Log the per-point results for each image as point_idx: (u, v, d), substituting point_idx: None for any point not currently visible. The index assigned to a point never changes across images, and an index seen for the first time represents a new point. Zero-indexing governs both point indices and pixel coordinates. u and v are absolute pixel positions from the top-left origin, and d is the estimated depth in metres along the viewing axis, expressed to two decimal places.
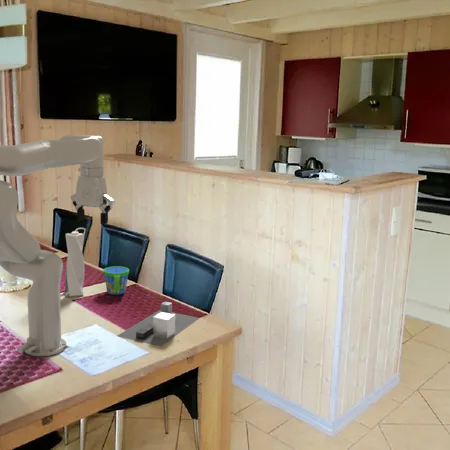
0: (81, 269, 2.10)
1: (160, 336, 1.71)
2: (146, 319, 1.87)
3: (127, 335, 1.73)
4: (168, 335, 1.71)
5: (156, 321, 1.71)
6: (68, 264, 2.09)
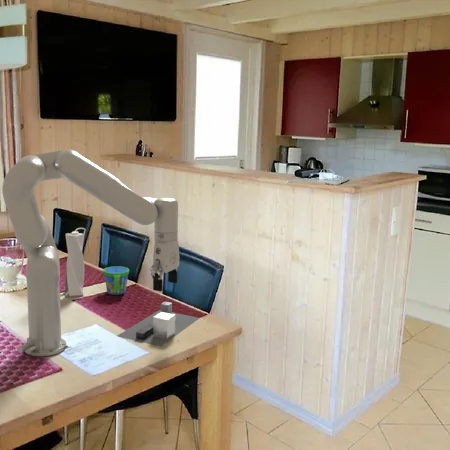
0: (81, 269, 2.10)
1: (160, 336, 1.71)
2: (146, 319, 1.87)
3: (127, 335, 1.73)
4: (168, 335, 1.71)
5: (156, 321, 1.71)
6: (68, 264, 2.09)
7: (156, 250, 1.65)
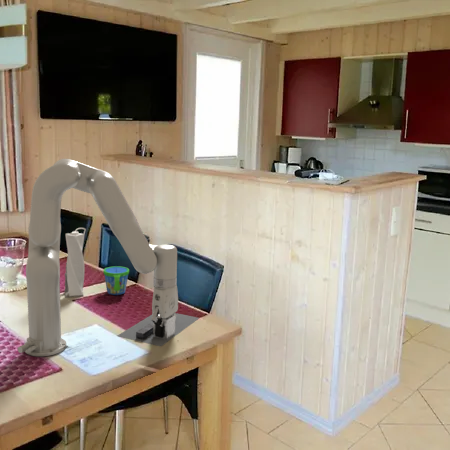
0: (81, 269, 2.10)
1: None
2: (146, 319, 1.87)
3: (127, 335, 1.73)
4: (168, 335, 1.71)
5: None
6: (68, 264, 2.09)
7: (155, 296, 1.68)
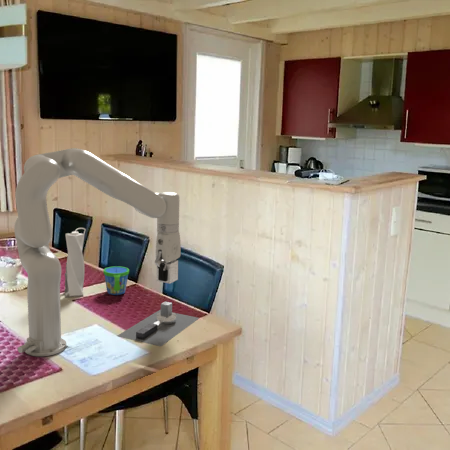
0: (81, 269, 2.10)
1: None
2: (146, 319, 1.87)
3: (127, 335, 1.73)
4: (171, 279, 1.78)
5: None
6: (68, 264, 2.09)
7: (158, 241, 1.75)
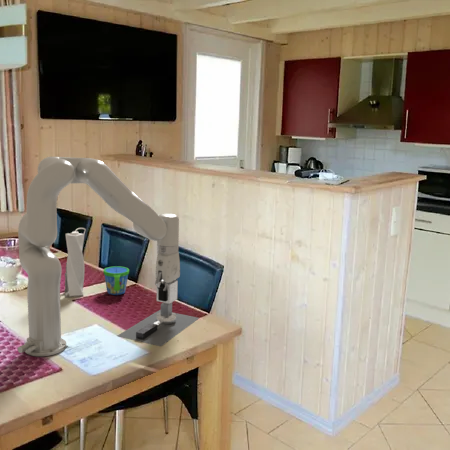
0: (81, 269, 2.10)
1: None
2: (146, 319, 1.87)
3: (127, 335, 1.73)
4: (171, 299, 1.81)
5: None
6: (68, 264, 2.09)
7: (158, 262, 1.78)
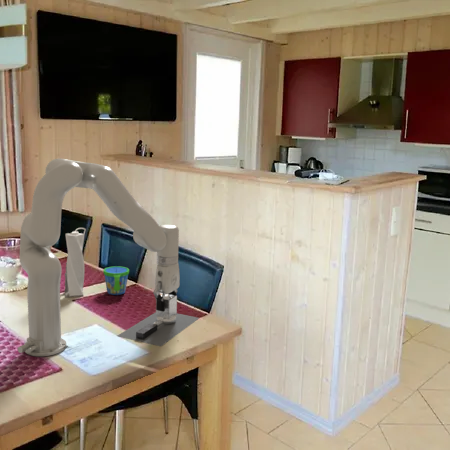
0: (81, 269, 2.10)
1: (163, 316, 1.83)
2: (146, 319, 1.87)
3: (127, 335, 1.73)
4: (170, 314, 1.82)
5: None
6: (68, 264, 2.09)
7: (158, 273, 1.79)
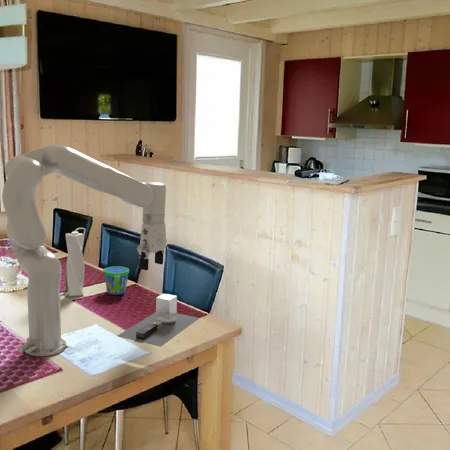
0: (81, 269, 2.10)
1: (163, 316, 1.83)
2: (146, 319, 1.87)
3: (127, 335, 1.73)
4: (170, 314, 1.82)
5: (159, 301, 1.82)
6: (68, 264, 2.09)
7: (143, 231, 1.74)
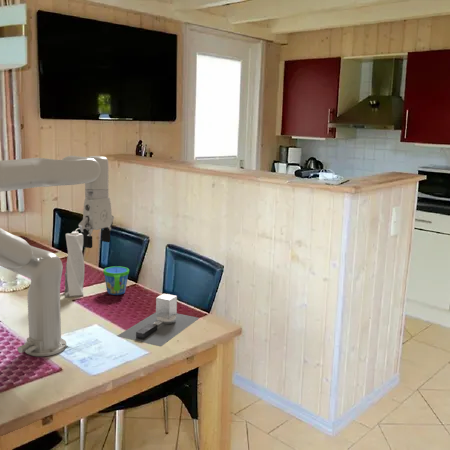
0: (81, 269, 2.10)
1: (163, 316, 1.83)
2: (146, 319, 1.87)
3: (127, 335, 1.73)
4: (170, 314, 1.82)
5: (159, 301, 1.82)
6: (68, 264, 2.09)
7: (86, 207, 1.67)
